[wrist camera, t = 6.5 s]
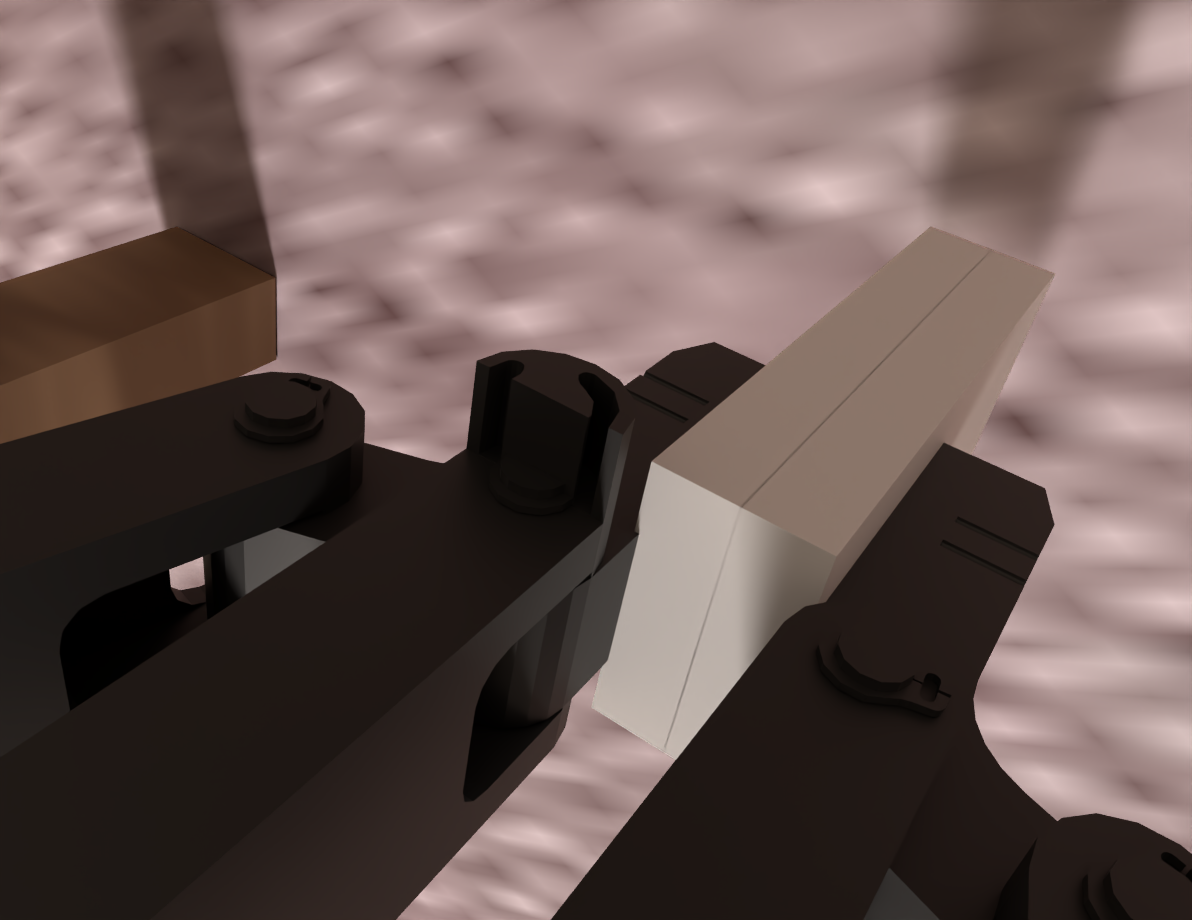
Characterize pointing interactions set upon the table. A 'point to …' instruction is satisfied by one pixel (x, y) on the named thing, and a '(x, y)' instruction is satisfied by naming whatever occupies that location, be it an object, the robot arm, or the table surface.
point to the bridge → (128, 330)
